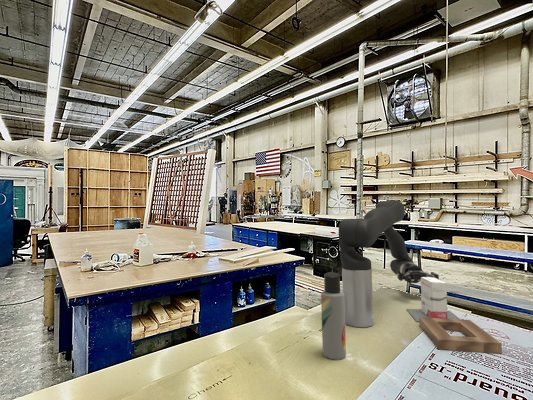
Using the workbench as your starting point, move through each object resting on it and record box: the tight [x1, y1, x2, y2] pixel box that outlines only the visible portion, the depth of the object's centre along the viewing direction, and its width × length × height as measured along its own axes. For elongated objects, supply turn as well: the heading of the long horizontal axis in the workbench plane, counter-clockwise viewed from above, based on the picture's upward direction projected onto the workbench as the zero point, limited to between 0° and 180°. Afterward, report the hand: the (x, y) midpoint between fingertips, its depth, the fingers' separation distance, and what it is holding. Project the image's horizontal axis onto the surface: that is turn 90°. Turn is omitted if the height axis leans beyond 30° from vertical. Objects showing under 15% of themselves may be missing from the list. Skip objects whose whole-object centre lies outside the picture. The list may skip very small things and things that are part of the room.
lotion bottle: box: [320, 271, 347, 360], centre depth 72 cm, size 6×6×20 cm
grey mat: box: [405, 308, 461, 323], centre depth 96 cm, size 14×12×1 cm
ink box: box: [420, 277, 448, 319], centre depth 96 cm, size 9×5×12 cm, turn 174°
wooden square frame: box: [418, 317, 503, 355], centre depth 79 cm, size 14×16×2 cm
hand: (422, 280), depth 107 cm, fingers open, 8 cm apart
